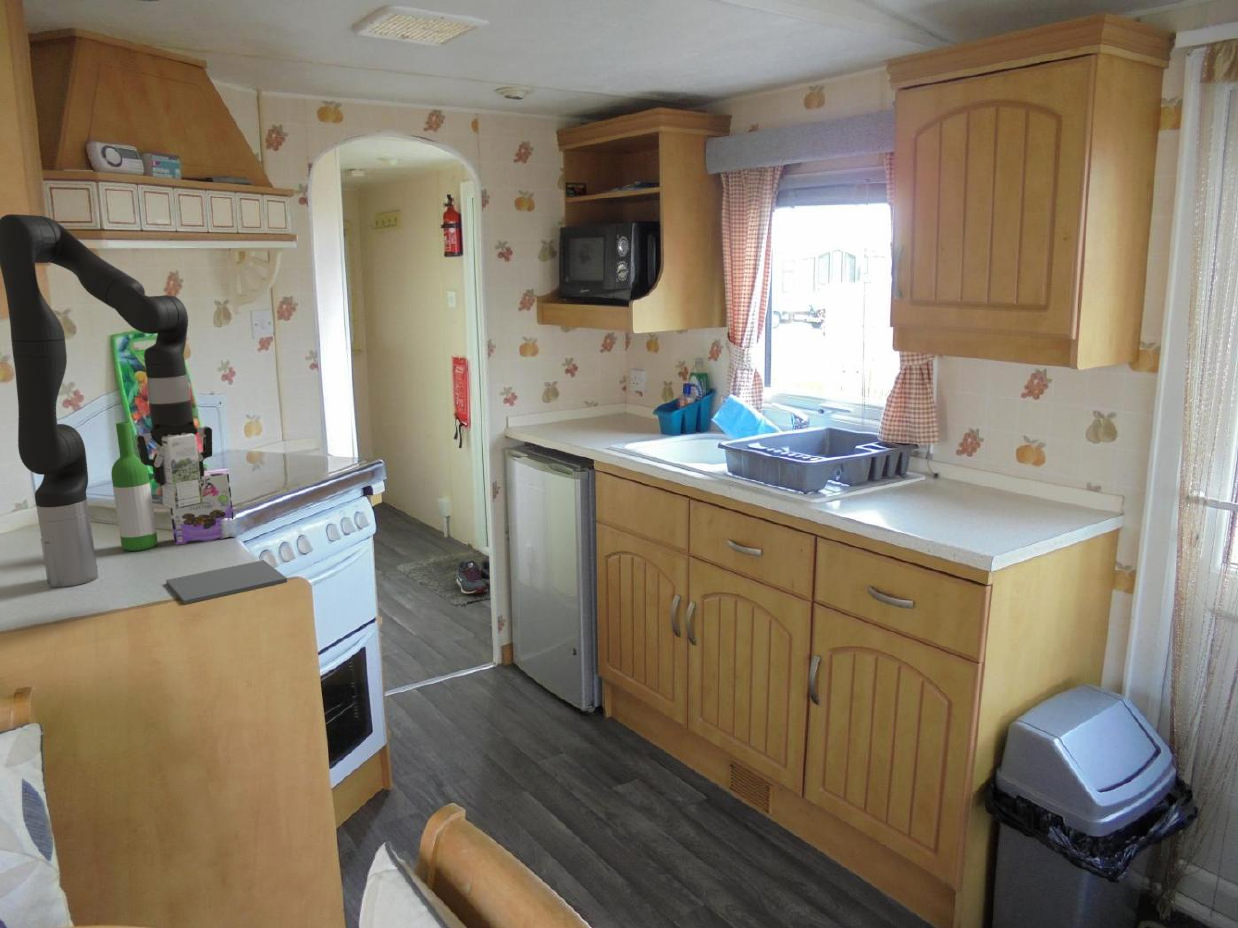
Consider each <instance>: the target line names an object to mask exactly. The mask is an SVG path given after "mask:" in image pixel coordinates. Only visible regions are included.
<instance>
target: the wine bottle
mask: <svg viewBox="0 0 1238 928" xmlns="http://www.w3.org/2000/svg"><path fill="white" fill-rule="evenodd" d="M115 426H116V427H115V428H116V435H117V441H118V442H117V443H118V451H119V458H118V459H117V460H115V462H114V463H113V465H112V467H111V481H112V490H113V496H114V502H115V509H116V517H117V523H118V531H119V537H120V538H119V539H120V545H121V548H122V549H123V550H124V551H128V552H139V551H144V550H145V551H146V550H149V549H152V548H154V547H156V545H157V543H158V534H157V527H156V526H157V525H156V518H155V511H154V504H153V503H154V502H153V497H152V489H151V482H150V476H149V468H148V465H147V466H146V465H144V464H143V463H142V462H141V459H140V457H138V456H137V455H136V453H135V448H134V441H133V434H132V428H131V422H129V421H120V422H119V421H118V422H116V423H115Z"/></svg>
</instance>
